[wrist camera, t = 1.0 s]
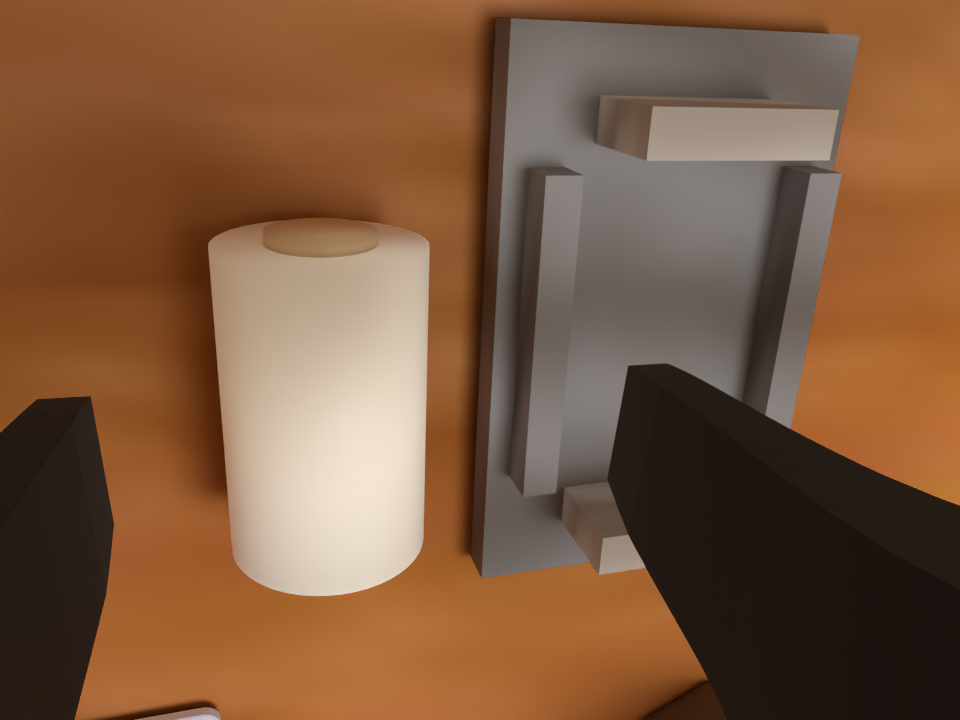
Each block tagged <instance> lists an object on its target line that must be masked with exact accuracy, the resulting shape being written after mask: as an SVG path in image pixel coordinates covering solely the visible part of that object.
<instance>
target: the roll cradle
mask: <svg viewBox="0 0 960 720" xmlns="http://www.w3.org/2000/svg"><path fill="white" fill-rule="evenodd" d="M859 38H860V35H846V34H825V33H804V32H784V31H763V30H743V29H722V28H701V27H681V26H660V25H639V24H619V23H598V22H577V21H557V20H536V19H515V18H496V21H495V42H494V64H493V86H492V107H491V129H490V150H489V172H488V194H487V215H486V237H485V259H484V280H483V302H482V323H481V345H480V367H479V388H478V410H477V432H476V453H475V475H474V496H473V518H472V540H471V557H472V559H473V562H474V564H475V566H476V568H477V570H478V572H479V574H480V576H481V578H487V577H493V576H500V575H507V574H513V573H520V572H527V571H533V570H540V569H547V568H553V567H560V566H567V565H573V564H580V563H587V562H590V563H591V564H592V566H593V567H594V569H595V570H596V571H597V573H598V574H599V575H601V574H608V573H614V572H620V571H627V570H633V569H640V568H646V567H645V565H644V563H643V561H642V559H641V558H640V556H639V554H638V552H637V550H636V549H635V547H634V545H633V543H632V541H631V539H630V537H629V535H628V533H627V530H626V528H625V525H624V523H623V520H622V518H621V515H620V513H619V510H618V508H617V505H616V502H615V499H614V497H613V494H612V491H611V488H610V486H609V483H608V480H607V477H608V471H609V466H610V461H611V455H612V450H613V445H614V439H615V434H616V429H617V423H618V418H619V412H620V407H621V402H622V396H623V391H624V386H625V380H626V375H627V370H628V366H629V365H646V364H664V363H668V364H670V365H672V366H675V367H677V368H679V369H681V370H683V371H686V372H688V373H690V374H692V375H693V376H695V377H697V378H699V379H701V380H703V381H705V382H707V383H708V384H710V385H712V386H714V387H716V388H718V389H719V390H721V391H723V392H725V393H726V394H728V395H730V396H732V397H734V398H735V399H737V400H739V401H741V402H742V403H744V404H746V405H748V406H750V407H751V408H753V409H755V410H757V411H759V412H760V413H762V414H764V415H766V416H768V417H769V418H771V419H773V420H775V421H777V422H778V423H780V424H782V425H784V426H786V427H788V428H789V429H790V428H791V423H792V419H793V414H794V409H795V404H796V399H797V394H798V389H799V384H800V379H801V374H802V369H803V364H804V359H805V354H806V349H807V344H808V339H809V334H810V329H811V324H812V319H813V314H814V309H815V304H816V299H817V294H818V290H819V285H820V280H821V275H822V270H823V265H824V260H825V255H826V250H827V245H828V240H829V235H830V230H831V225H832V220H833V215H834V210H835V205H836V200H837V195H838V190H839V185H840V180H841V175H842V173H838V172H835V171H833V170H834V165H835V160H836V154H837V149H838V144H839V139H840V134H841V129H842V124H843V119H844V114H845V109H846V104H847V99H848V94H849V89H850V84H851V79H852V74H853V68H854V63H855V58H856V53H857V48H858V43H859Z"/></svg>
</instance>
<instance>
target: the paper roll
mask: <svg viewBox="0 0 960 720" xmlns="http://www.w3.org/2000/svg"><path fill="white" fill-rule="evenodd" d="M429 250H430V246H429V242H428V241H427V240H426V239H425V238H424V237H423V236H421V235H419V234H417V233H415V232H413V231H410V230H407V229H404V228H400V227H396V226H392V225H387V224H381V223H375V222H367V221H357V220H350V219H341V218H299V219H290V220H282V221H272V222H264V223H258V224H252V225H247V226H242V227H238V228H235V229H231V230H228V231H225V232H223V233H221V234H219V235H217V236H215V237H214V238H212V239H211V241H210V242H209V244H208V253H209V265H210V278H211V291H212V303H213V316H214V328H215V341H216V353H217V366H218V379H219V391H220V404H221V416H222V429H223V441H224V454H225V467H226V479H227V492H228V504H229V517H230V529H231V542H232V552H233V557H234V559H235V562H236V563H237V565H238V566H239V568H240V569H241V570H242V571H243V572H244V573H245V574H246V575H247V576H248V577H250V578H251V579H253V580H254V581H256V582H258V583H259V584H261V585H263V586H266V587H268V588H271V589H274V590H277V591H281V592H285V593H290V594H296V595H306V596H331V595H341V594H347V593H353V592H357V591H361V590H365V589H368V588H371V587H374V586H376V585H379V584H381V583H383V582H385V581H388V580H390V579H391V578H393V577H395V576H396V575H398V574H400V573H401V572H402V571H403V570H405V569H406V568H407V567H408V566H409V565H410V564H411V563H412V562H413V561H414V560H415V558H416V557H417V555H418V554H419V552H420V550H421V547H422V544H423V534H424V486H425V439H426V392H427V345H428V298H429Z"/></svg>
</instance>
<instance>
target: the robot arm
mask: <svg viewBox="0 0 960 720" xmlns="http://www.w3.org/2000/svg"><path fill="white" fill-rule="evenodd" d="M607 480H608V483H609V486H610V488H611V491H612V494H613V497H614V499H615V502H616V505H617V508H618V510H619V513H620V515H621V518H622V520H623V523H624V525H625V528H626V530H627V533H628V535H629V537H630V539H631V541H632V543H633V545H634V547H635V549H636V550H637V552H638V554H639V556H640V558H641V559H642V561H643V563H644V565H645V567H646V569H647V570H648V572H649V574H650V576H651V578H652V579H653V581H654V583H655V585H656V586H657V588H658V590H659V592H660V593H661V595H662V597H663V599H664V601H665V602H666V604H667V606H668V608H669V609H670V611H671V613H672V615H673V616H674V618H675V620H676V622H677V623H678V625H679V627H680V629H681V630H682V632H683V634H684V636H685V638H686V639H687V641H688V643H689V645H690V646H691V648H692V650H693V652H694V653H695V655H696V657H697V659H698V660H699V662H700V664H701V666H702V668H703V670H704V672H705V674H706V676H707V678H708V680H709V682H710V684H711V686H712V688H713V690H714V692H715V694H716V696H717V698H718V701H719V703H720V705H721V708H722V710H723V712H724V715H725V717H726V719H727V720H960V506H959V505H956V504H953V503H951V502H948V501H945V500H943V499H940V498H937V497H935V496H933V495H930V494H928V493H925V492H923V491H920V490H918V489H916V488H913V487H911V486H908V485H906V484H904V483H901V482H899V481H896V480H894V479H891V478H889V477H887V476H884V475H882V474H880V473H878V472H876V471H873V470H871V469H869V468H867V467H865V466H862V465H860V464H858V463H856V462H854V461H852V460H850V459H848V458H846V457H844V456H842V455H840V454H838V453H836V452H834V451H832V450H830V449H828V448H826V447H824V446H822V445H820V444H818V443H816V442H814V441H812V440H810V439H808V438H806V437H804V436H803V435H801V434H799V433H797V432H795V431H793V430H791V429H789V428H788V427H786V426H784V425H782V424H780V423H778V422H777V421H775V420H773V419H771V418H769V417H768V416H766V415H764V414H762V413H760V412H759V411H757V410H755V409H753V408H751V407H750V406H748V405H746V404H744V403H742V402H741V401H739V400H737V399H735V398H734V397H732V396H730V395H728V394H726V393H725V392H723V391H721V390H719V389H718V388H716V387H714V386H712V385H710V384H708V383H707V382H705V381H703V380H701V379H699V378H697V377H695V376H693V375H692V374H690V373H688V372H686V371H683V370H681V369H679V368H677V367H675V366H672V365H670V364H668V363H664V364H646V365H629V366H628V370H627V375H626V380H625V386H624V391H623V396H622V402H621V407H620V412H619V418H618V423H617V429H616V434H615V439H614V445H613V450H612V455H611V461H610V466H609V471H608V477H607ZM113 527H114V522H113V517H112V511H111V506H110V500H109V495H108V489H107V484H106V478H105V473H104V467H103V462H102V456H101V451H100V446H99V440H98V435H97V429H96V424H95V418H94V413H93V407H92V402H91V396H89V397H71V398H54V399H37V400H36V401H35V402H34V403H32V404H31V405H30V406H29V407H28V408H27V409H26V410H24V411H23V412H22V413H21V414H20V415H19V416H18V417H17V418H16V419H15V420H14V421H13V422H11V423H10V424H9V425H8V426H7V427H6V428H5V429H4V430H3V431H2V432H1V433H0V720H74V719H75V715H76V711H77V707H78V703H79V700H80V696H81V692H82V688H83V684H84V680H85V676H86V672H87V668H88V665H89V661H90V657H91V653H92V649H93V645H94V641H95V637H96V633H97V629H98V625H99V621H100V617H101V613H102V609H103V605H104V600H105V596H106V590H107V582H108V574H109V566H110V557H111V547H112V537H113ZM136 720H221V716H220V714H219V712H218V711H217V710H215V709H213V708H210V707H204V708H197V709H192V710H186V711H180V712H175V713H169V714H164V715H158V716H152V717H147V718H141V719H136Z"/></svg>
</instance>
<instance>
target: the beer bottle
mask: <svg viewBox="0 0 960 720" xmlns="http://www.w3.org/2000/svg"><path fill="white" fill-rule="evenodd" d="M644 720H727V719H726V717H725V715H724V712H723V710H722V708H721V705H720V703H719V701H718V698H717V696H716V694H715V692H714V690H713V688H712V686H711V684H710V683H706V682H704V683H703V684H701V685H699V686H698V687H696V688H694V689H693V690H691V691H690V692H688V693H686V694H685V695H683V696H681V697H680V698H678V699H676V700H675V701H673V702H671V703H670V704H668V705H666V706H665V707H663V708H661V709H660V710H658V711H656V712H655V713H653V714H651V715H650V716H648V717H646V718H645V719H644Z"/></svg>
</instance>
